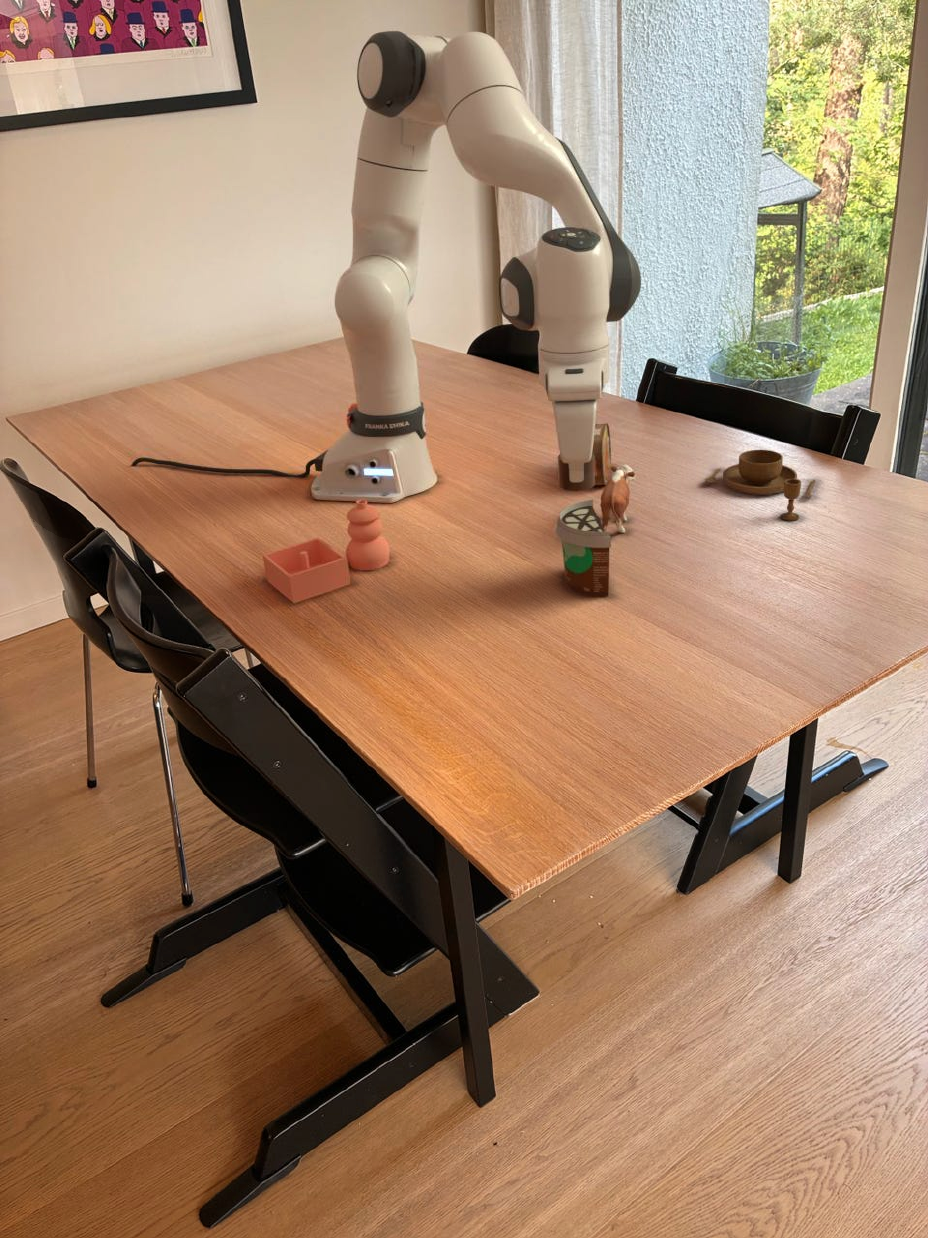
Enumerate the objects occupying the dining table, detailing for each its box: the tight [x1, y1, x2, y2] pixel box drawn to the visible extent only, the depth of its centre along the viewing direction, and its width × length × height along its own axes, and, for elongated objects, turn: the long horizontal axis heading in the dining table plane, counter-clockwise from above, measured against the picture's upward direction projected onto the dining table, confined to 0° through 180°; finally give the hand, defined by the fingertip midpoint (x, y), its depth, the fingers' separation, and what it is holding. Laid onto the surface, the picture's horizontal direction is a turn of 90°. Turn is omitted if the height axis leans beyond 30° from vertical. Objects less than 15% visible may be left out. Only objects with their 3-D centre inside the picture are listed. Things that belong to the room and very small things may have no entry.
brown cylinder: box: [557, 453, 596, 492], centre depth 132 cm, size 5×5×4 cm
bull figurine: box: [600, 464, 636, 534], centre depth 154 cm, size 4×13×8 cm, turn 161°
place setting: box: [704, 449, 816, 522], centre depth 162 cm, size 18×20×6 cm
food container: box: [555, 499, 612, 597], centre depth 137 cm, size 12×6×10 cm, turn 5°
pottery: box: [261, 499, 391, 604], centre depth 146 cm, size 18×10×10 cm, turn 123°
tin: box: [592, 422, 612, 486], centre depth 173 cm, size 15×3×8 cm, turn 168°
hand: (576, 471), depth 132 cm, fingers closed on brown cylinder, 5 cm apart
